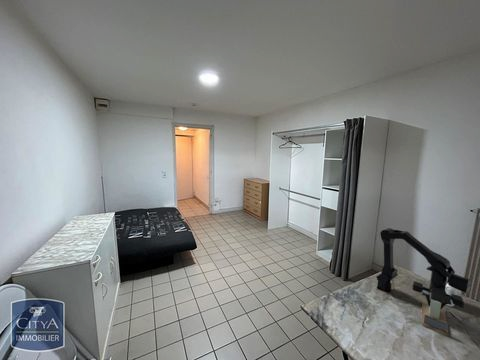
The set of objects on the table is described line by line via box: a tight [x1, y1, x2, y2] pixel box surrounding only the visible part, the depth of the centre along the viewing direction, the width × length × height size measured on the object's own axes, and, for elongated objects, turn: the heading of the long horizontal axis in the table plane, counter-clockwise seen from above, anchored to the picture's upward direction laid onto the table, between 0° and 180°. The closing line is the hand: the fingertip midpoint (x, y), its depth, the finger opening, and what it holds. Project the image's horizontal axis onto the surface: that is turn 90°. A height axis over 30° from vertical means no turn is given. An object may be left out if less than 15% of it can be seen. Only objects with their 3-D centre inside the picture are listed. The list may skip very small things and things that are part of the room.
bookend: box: [424, 315, 449, 333], centre depth 94 cm, size 8×1×4 cm, turn 47°
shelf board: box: [421, 300, 449, 337], centre depth 101 cm, size 9×20×1 cm, turn 137°
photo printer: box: [445, 282, 459, 307], centre depth 111 cm, size 10×4×12 cm, turn 123°
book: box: [429, 294, 441, 319], centre depth 102 cm, size 4×8×9 cm, turn 137°
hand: (434, 307), depth 103 cm, fingers closed on book, 3 cm apart
